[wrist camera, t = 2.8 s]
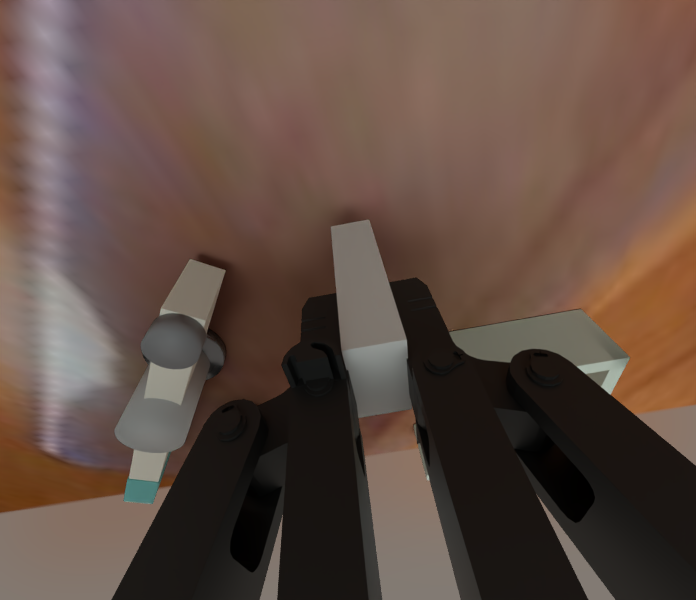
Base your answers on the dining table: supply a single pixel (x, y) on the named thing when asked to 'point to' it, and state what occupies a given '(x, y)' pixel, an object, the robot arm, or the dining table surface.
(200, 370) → the teal-tipped knobbed bar
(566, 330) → the box
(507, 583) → the robot arm
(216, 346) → the pivot base
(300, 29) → the dining table surface
